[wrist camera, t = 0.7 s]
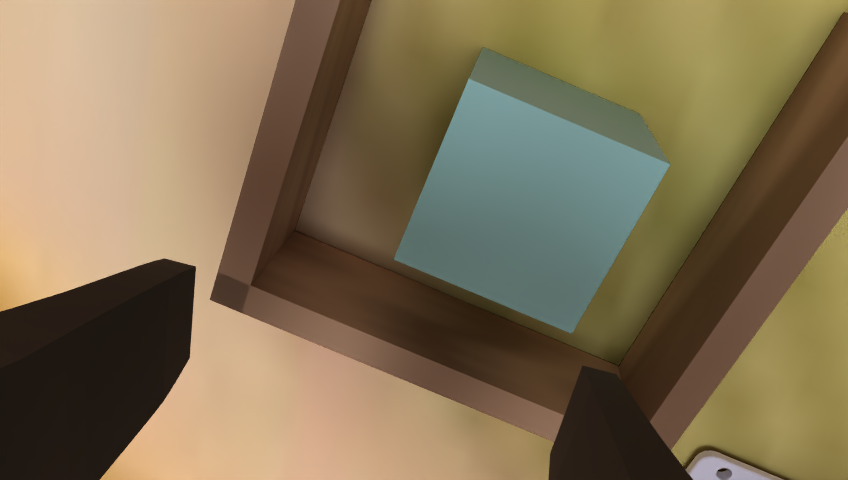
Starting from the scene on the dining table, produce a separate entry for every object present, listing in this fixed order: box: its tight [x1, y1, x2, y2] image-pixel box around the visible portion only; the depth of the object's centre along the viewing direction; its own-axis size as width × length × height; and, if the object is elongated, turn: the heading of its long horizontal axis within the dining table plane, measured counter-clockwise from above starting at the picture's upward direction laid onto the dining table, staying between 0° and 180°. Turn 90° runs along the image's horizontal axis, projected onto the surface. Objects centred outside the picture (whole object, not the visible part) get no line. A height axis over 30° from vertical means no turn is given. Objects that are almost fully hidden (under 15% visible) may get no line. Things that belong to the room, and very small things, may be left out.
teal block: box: [394, 47, 670, 334], centre depth 19 cm, size 5×5×5 cm
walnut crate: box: [210, 0, 848, 450], centre depth 19 cm, size 14×14×4 cm
